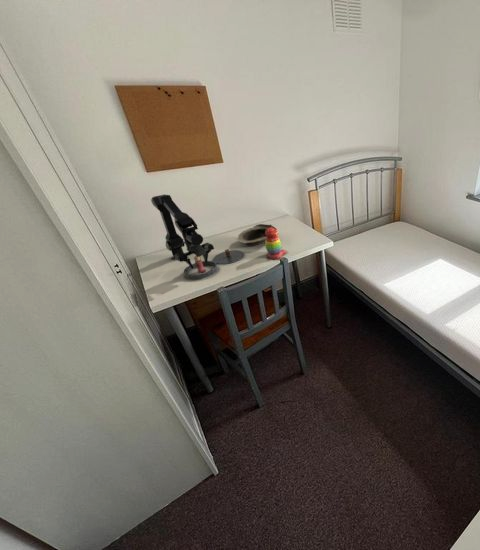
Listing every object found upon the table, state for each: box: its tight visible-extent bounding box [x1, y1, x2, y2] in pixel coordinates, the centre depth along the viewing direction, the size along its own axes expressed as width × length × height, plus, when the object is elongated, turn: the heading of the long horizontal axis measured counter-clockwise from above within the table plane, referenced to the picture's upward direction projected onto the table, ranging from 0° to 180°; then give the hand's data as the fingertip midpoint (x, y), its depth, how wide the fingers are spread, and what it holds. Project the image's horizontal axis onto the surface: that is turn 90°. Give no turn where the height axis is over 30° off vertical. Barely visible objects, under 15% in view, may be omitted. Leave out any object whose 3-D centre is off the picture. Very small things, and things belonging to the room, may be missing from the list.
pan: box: [183, 260, 219, 281], centre depth 163 cm, size 17×17×3 cm
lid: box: [212, 248, 245, 265], centre depth 177 cm, size 18×18×6 cm
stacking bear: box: [264, 227, 287, 260], centre depth 176 cm, size 11×10×18 cm
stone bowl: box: [237, 223, 278, 247], centre depth 195 cm, size 25×25×9 cm
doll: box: [193, 255, 207, 274], centre depth 161 cm, size 4×4×10 cm
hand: (199, 265), depth 162 cm, fingers open, 8 cm apart
